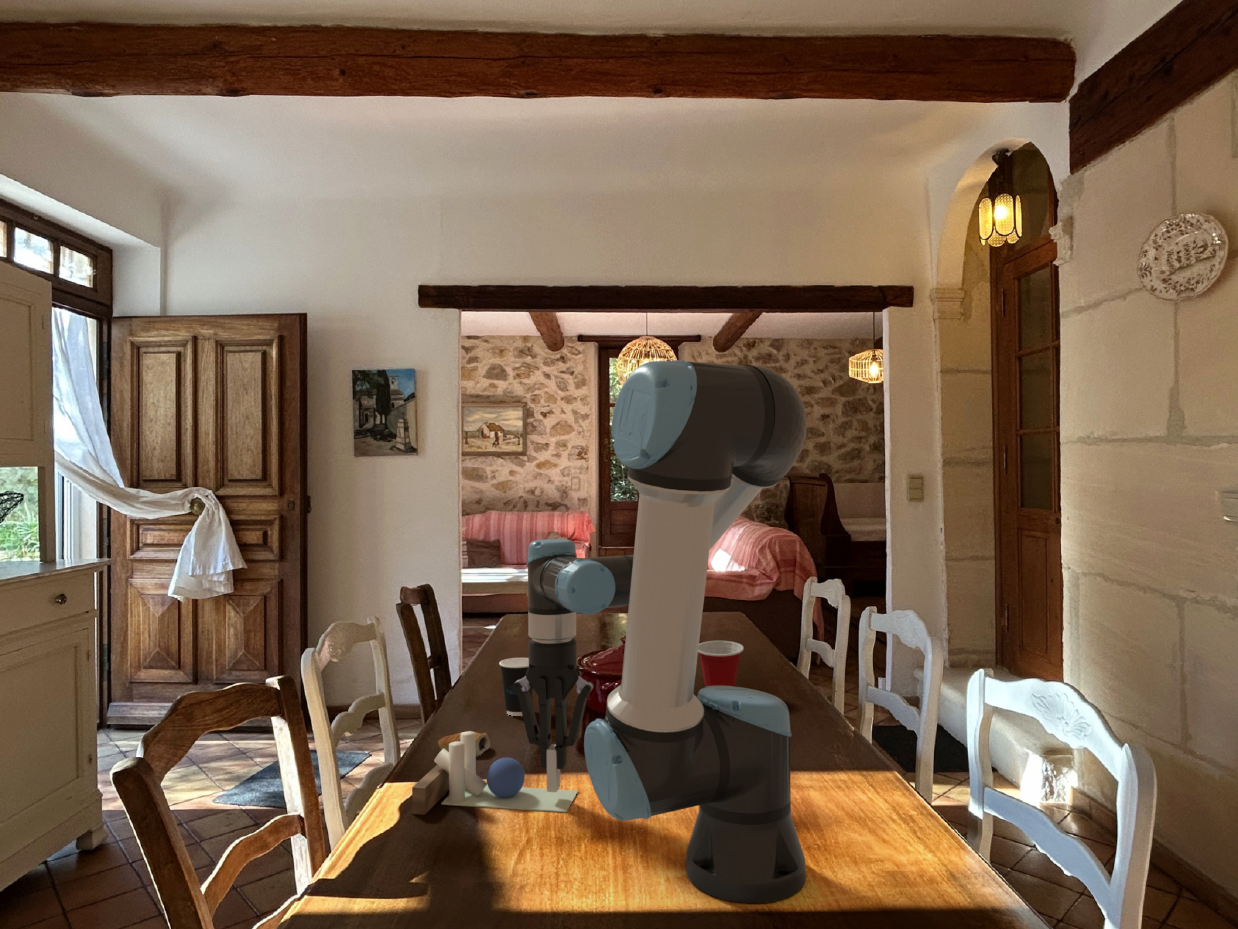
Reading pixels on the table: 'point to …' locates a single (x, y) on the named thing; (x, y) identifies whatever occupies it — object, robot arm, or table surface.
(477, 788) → the pin front
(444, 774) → the wall
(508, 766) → the ball
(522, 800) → the strip
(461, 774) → the pin rear right
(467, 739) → the pin rear left
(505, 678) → the dixie cup
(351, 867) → the table surface
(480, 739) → the pastry
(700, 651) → the plastic cup
